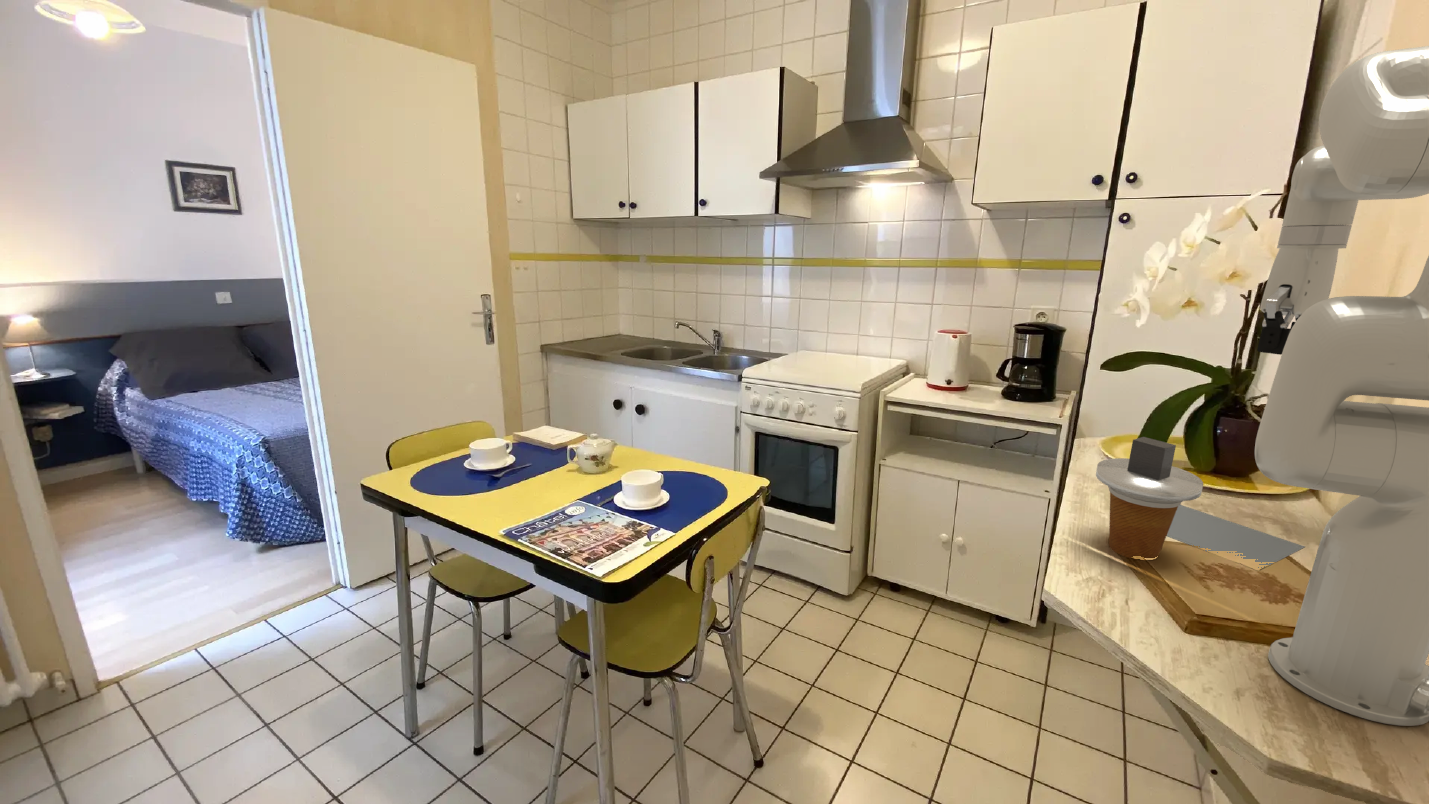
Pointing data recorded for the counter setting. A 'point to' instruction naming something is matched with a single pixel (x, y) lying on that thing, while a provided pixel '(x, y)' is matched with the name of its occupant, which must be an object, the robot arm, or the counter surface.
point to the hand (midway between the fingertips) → (1285, 350)
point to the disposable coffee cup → (1139, 524)
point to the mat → (1228, 536)
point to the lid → (1150, 473)
